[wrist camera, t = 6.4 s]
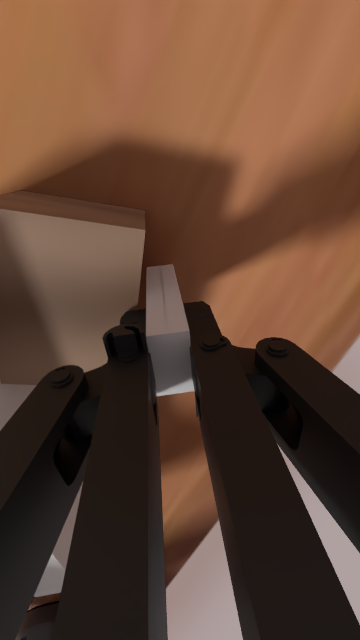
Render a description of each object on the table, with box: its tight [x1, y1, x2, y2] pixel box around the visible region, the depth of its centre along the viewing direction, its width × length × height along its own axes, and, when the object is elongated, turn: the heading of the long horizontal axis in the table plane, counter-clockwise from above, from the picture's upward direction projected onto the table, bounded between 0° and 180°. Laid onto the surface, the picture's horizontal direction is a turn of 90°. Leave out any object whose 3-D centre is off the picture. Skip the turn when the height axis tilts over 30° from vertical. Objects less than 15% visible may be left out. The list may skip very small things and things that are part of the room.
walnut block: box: [0, 190, 145, 385], centre depth 14 cm, size 8×6×5 cm
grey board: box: [0, 381, 83, 597], centre depth 16 cm, size 22×3×8 cm, turn 5°
